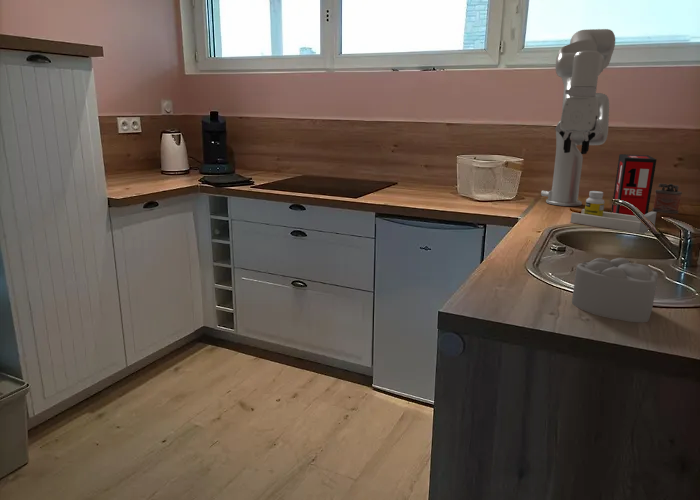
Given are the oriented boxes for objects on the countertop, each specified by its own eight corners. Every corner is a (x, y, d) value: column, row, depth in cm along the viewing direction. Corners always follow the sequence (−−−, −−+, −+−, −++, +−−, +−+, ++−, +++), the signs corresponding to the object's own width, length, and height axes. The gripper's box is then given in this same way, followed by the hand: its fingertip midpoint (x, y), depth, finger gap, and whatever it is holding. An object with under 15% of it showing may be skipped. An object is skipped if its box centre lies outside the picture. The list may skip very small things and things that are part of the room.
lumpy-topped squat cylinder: (647, 325, 91) (655, 276, 88) (565, 309, 97) (571, 262, 95) (653, 307, 99) (661, 262, 97) (577, 293, 106) (583, 250, 104)
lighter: (678, 212, 192) (683, 184, 189) (677, 213, 189) (683, 185, 187) (652, 209, 196) (657, 182, 194) (651, 211, 193) (656, 183, 191)
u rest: (570, 222, 172) (572, 206, 170) (582, 217, 179) (584, 202, 178) (644, 233, 158) (647, 216, 157) (653, 228, 165) (656, 212, 164)
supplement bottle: (579, 221, 173) (583, 191, 170) (589, 220, 176) (593, 190, 173) (595, 225, 169) (599, 193, 166) (605, 223, 172) (609, 192, 169)
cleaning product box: (611, 211, 192) (619, 154, 187) (639, 213, 190) (648, 155, 184) (616, 219, 177) (625, 158, 172) (646, 222, 175) (656, 159, 169)
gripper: (550, 93, 170) (544, 152, 175) (607, 93, 159) (598, 155, 164) (560, 93, 175) (553, 150, 180) (615, 93, 165) (607, 154, 169)
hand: (575, 152), depth 172 cm, fingers open, 4 cm apart
